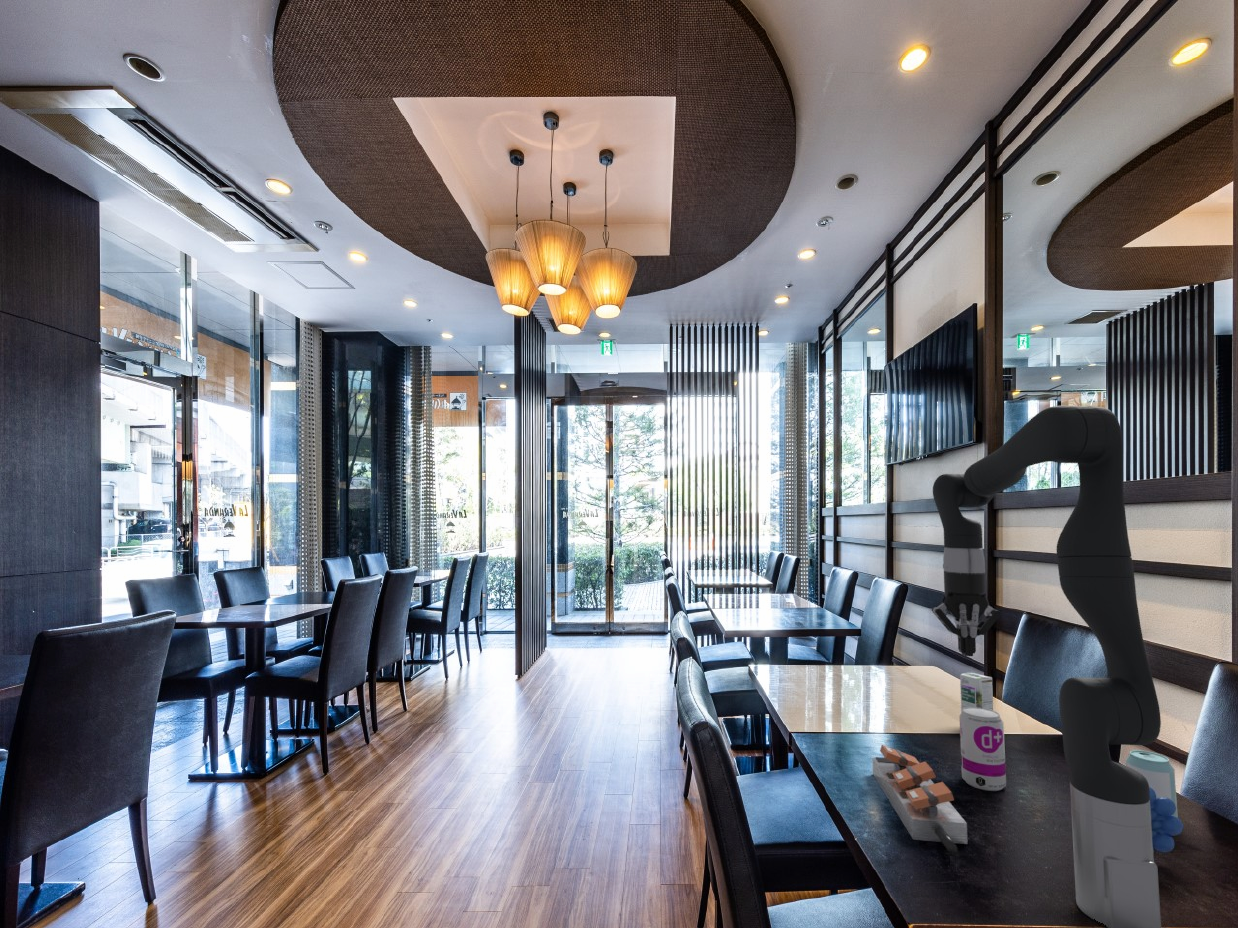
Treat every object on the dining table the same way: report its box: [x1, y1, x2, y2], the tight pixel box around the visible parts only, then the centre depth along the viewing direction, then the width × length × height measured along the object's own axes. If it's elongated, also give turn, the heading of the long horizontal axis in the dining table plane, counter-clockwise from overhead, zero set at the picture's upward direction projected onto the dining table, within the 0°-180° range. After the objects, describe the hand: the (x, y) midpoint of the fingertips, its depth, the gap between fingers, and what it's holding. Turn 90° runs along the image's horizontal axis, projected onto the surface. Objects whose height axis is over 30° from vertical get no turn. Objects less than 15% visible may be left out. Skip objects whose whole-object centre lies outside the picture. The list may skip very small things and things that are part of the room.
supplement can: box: [958, 707, 1007, 792], centre depth 132 cm, size 8×8×15 cm
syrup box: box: [959, 672, 994, 714], centre depth 166 cm, size 6×6×14 cm
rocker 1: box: [879, 744, 920, 767], centre depth 131 cm, size 4×7×2 cm, turn 81°
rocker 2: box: [892, 761, 937, 790], centre depth 122 cm, size 4×7×2 cm, turn 81°
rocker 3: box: [906, 781, 955, 809], centre depth 113 cm, size 4×7×2 cm, turn 81°
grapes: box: [1149, 787, 1184, 854], centre depth 105 cm, size 12×7×12 cm, turn 62°
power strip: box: [872, 756, 968, 856], centre depth 119 cm, size 34×9×4 cm, turn 171°
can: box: [1125, 749, 1179, 819], centre depth 117 cm, size 7×7×12 cm
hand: (967, 655), depth 125 cm, fingers closed
